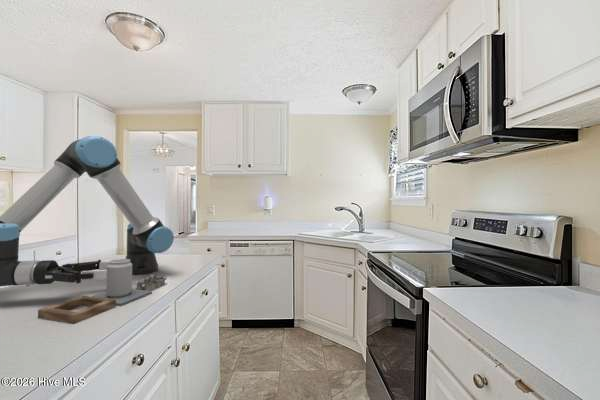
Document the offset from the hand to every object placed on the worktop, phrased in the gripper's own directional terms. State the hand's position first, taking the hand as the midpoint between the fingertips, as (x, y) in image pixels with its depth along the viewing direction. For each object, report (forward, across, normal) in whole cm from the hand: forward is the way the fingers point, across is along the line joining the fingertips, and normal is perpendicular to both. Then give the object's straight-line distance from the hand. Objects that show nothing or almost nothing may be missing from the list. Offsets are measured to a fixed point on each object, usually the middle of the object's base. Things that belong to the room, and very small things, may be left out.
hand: (113, 269), depth 97 cm
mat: (+2, 0, -10) cm, 10 cm away
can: (+2, 0, -9) cm, 9 cm away
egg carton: (+9, -11, -10) cm, 18 cm away
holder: (-5, +12, -10) cm, 16 cm away
